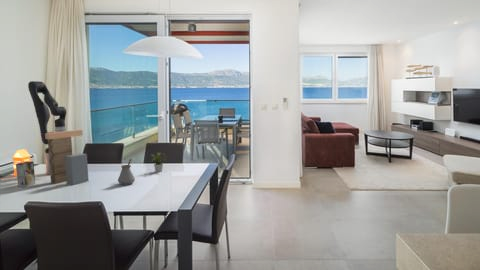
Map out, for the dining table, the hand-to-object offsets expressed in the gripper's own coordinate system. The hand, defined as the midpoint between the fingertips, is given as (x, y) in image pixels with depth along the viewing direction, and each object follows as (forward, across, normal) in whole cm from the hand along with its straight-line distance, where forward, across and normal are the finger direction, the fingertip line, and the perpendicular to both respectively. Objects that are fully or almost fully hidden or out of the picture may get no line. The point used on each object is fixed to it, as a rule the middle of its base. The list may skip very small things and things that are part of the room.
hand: (62, 153), depth 267 cm
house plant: (+20, -43, +57) cm, 74 cm away
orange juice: (+16, +14, -32) cm, 39 cm away
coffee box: (+18, +31, +3) cm, 36 cm away
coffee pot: (+20, -9, +60) cm, 64 cm away
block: (-14, +8, +17) cm, 23 cm away
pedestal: (+18, +9, +29) cm, 36 cm away
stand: (+18, +12, +16) cm, 27 cm away
